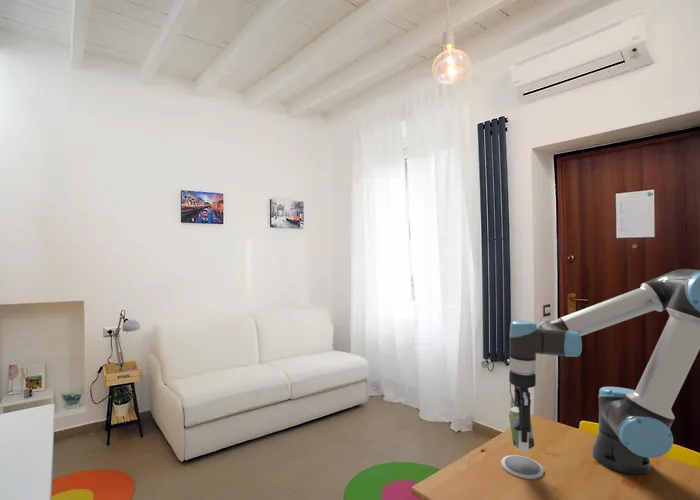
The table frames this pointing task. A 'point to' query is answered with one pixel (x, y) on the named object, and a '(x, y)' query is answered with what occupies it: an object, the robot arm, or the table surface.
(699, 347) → the robot arm
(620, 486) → the table surface
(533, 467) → the grey white round coaster
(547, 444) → the table surface
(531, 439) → the beverage can
